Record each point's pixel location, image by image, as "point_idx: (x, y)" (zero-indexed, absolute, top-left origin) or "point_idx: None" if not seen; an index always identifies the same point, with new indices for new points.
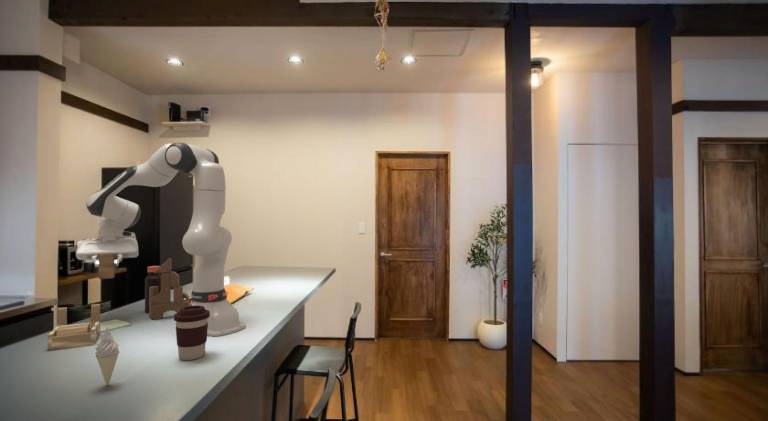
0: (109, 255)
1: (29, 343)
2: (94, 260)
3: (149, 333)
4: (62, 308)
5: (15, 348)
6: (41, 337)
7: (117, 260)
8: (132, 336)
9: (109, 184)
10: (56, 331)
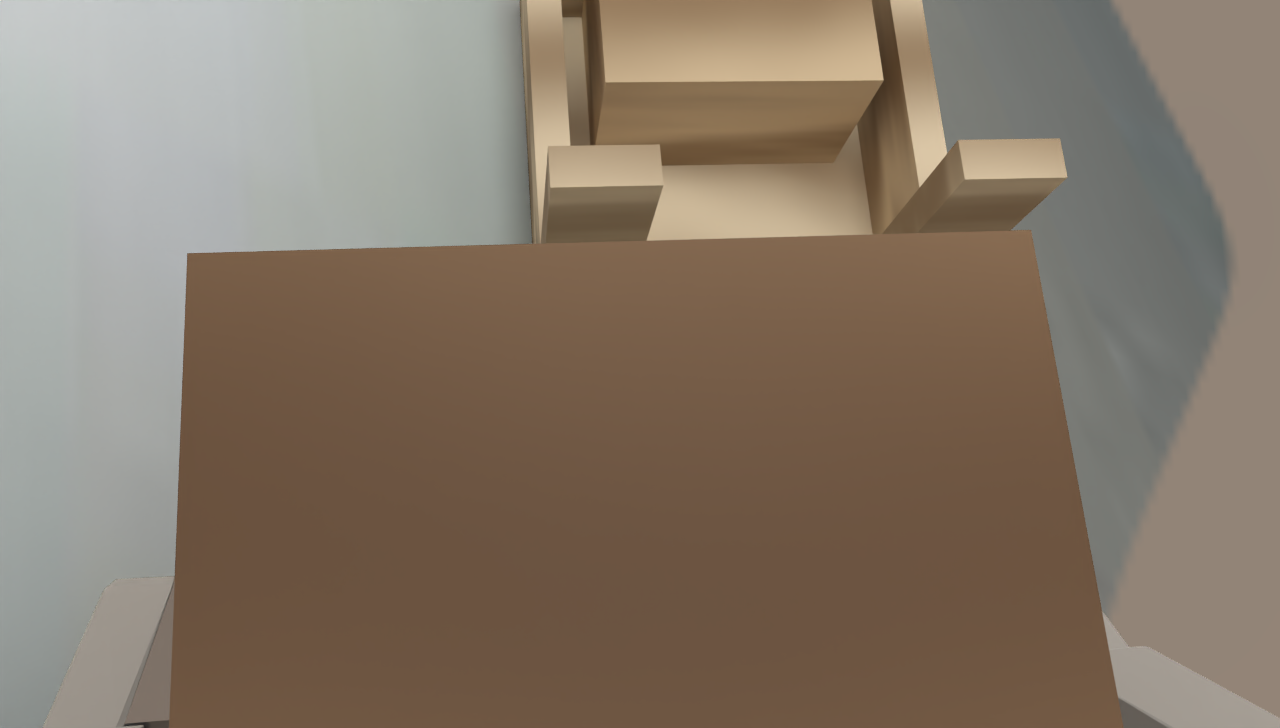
0: (428, 259)
1: (1115, 315)
2: (1182, 665)
3: (23, 144)
4: (997, 141)
5: (1159, 202)
6: (1102, 499)
7: (96, 689)
8: (196, 113)
9: None
10: (895, 83)
